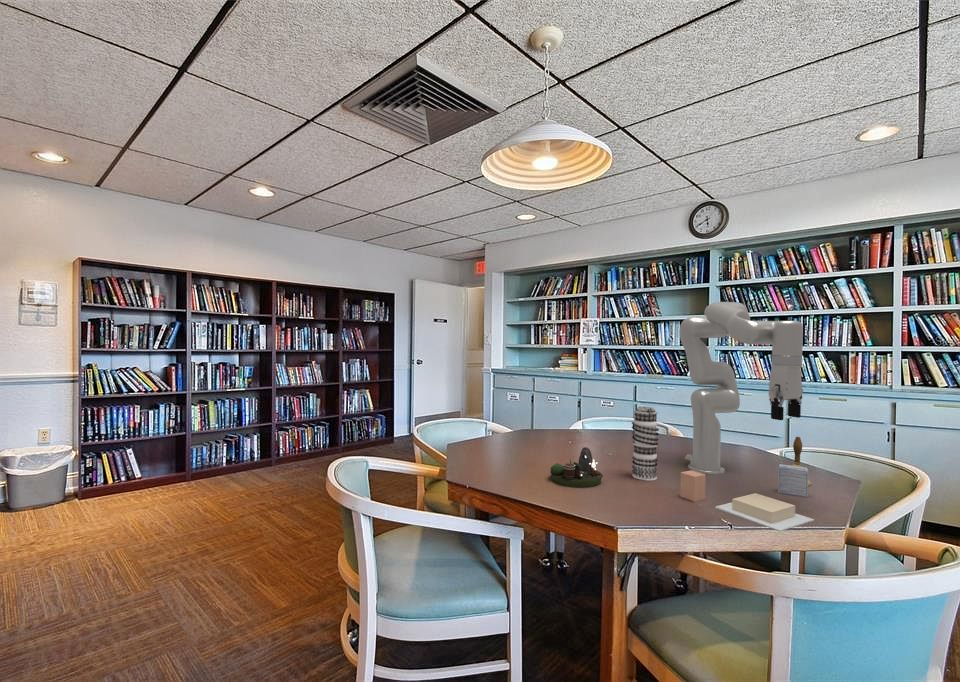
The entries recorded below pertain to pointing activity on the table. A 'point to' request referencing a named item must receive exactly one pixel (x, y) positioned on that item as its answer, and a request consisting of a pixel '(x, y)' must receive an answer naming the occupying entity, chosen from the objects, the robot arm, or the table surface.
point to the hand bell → (798, 453)
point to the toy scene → (577, 472)
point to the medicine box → (793, 480)
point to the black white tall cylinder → (645, 444)
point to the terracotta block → (693, 485)
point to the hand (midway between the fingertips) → (785, 418)
